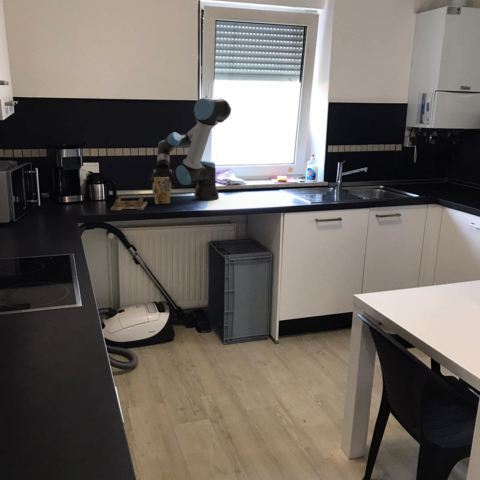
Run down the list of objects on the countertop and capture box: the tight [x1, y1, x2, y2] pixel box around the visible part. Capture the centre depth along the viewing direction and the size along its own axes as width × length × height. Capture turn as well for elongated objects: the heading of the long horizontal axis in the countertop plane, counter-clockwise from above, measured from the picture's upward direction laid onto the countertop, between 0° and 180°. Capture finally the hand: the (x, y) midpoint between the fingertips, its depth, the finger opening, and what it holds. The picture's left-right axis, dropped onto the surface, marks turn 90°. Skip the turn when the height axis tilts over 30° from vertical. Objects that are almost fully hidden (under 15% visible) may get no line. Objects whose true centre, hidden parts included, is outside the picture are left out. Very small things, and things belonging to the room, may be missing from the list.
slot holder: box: [110, 197, 148, 211], centre depth 306 cm, size 18×18×4 cm
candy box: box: [153, 176, 171, 205], centre depth 315 cm, size 9×4×15 cm, turn 103°
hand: (161, 193), depth 314 cm, fingers closed on candy box, 9 cm apart
